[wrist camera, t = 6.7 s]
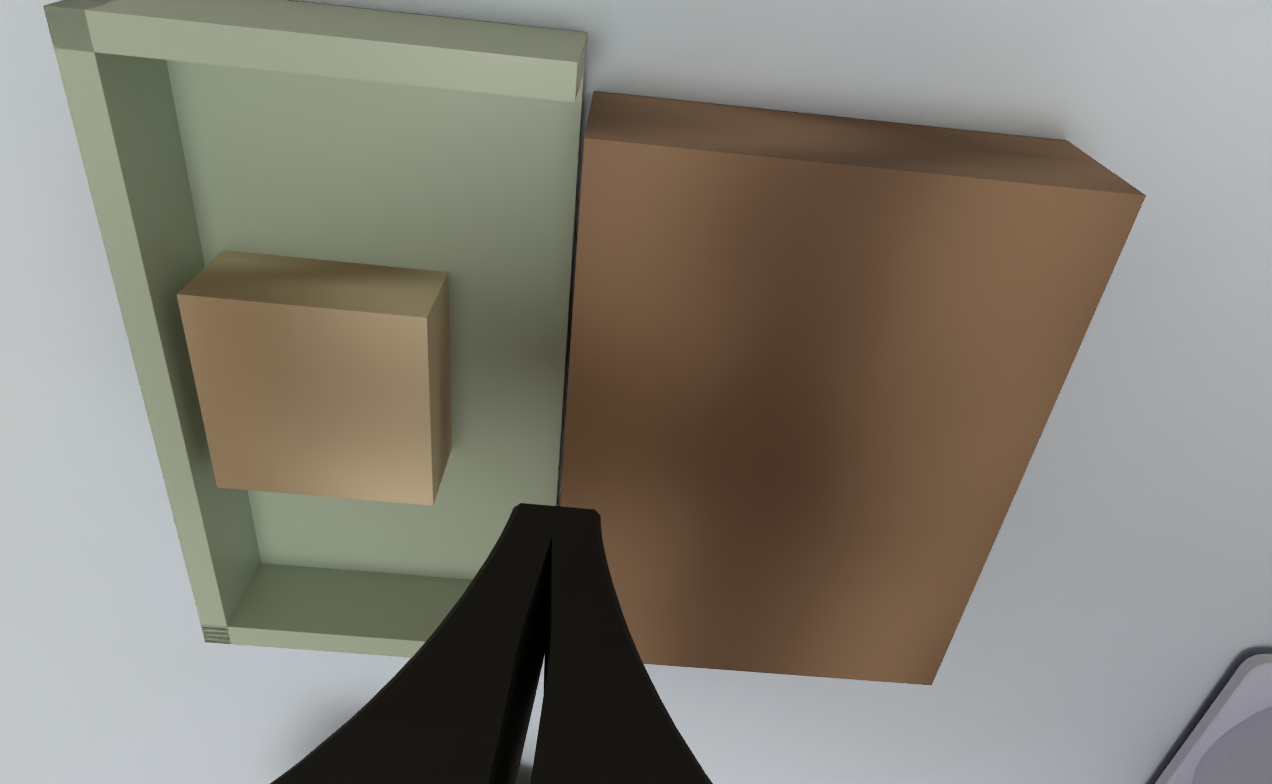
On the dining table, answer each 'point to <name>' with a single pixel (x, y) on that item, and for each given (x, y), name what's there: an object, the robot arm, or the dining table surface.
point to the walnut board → (817, 370)
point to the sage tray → (346, 232)
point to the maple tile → (322, 375)
